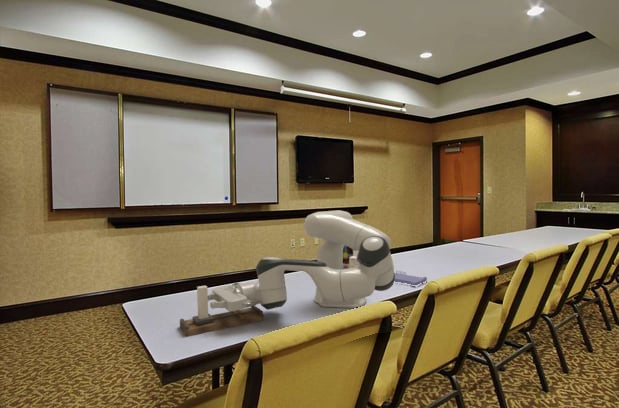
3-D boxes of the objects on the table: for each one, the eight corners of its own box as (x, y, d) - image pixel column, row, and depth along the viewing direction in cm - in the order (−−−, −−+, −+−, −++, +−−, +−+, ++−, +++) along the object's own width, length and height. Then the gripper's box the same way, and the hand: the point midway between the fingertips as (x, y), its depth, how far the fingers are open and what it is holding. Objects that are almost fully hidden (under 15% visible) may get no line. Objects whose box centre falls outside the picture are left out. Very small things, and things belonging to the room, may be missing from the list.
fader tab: (209, 316, 131) (208, 283, 131) (214, 321, 126) (213, 287, 125) (192, 320, 128) (191, 286, 127) (196, 325, 123) (195, 290, 122)
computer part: (378, 273, 205) (363, 278, 194) (378, 266, 204) (363, 271, 194) (428, 282, 184) (414, 288, 173) (428, 274, 184) (414, 280, 173)
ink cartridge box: (348, 278, 193) (348, 251, 192) (352, 276, 197) (352, 250, 197) (363, 280, 188) (363, 252, 188) (367, 278, 193) (367, 251, 192)
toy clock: (329, 271, 211) (328, 237, 210) (331, 269, 216) (331, 236, 215) (362, 273, 204) (362, 238, 203) (364, 271, 209) (364, 237, 209)
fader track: (253, 311, 142) (252, 304, 142) (263, 319, 134) (263, 311, 134) (179, 326, 128) (179, 318, 127) (186, 336, 119) (186, 327, 119)
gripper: (255, 311, 125) (216, 319, 118) (234, 297, 142) (199, 304, 135) (254, 293, 125) (215, 300, 118) (234, 281, 142) (199, 287, 135)
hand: (206, 302), depth 127 cm, fingers open, 8 cm apart
